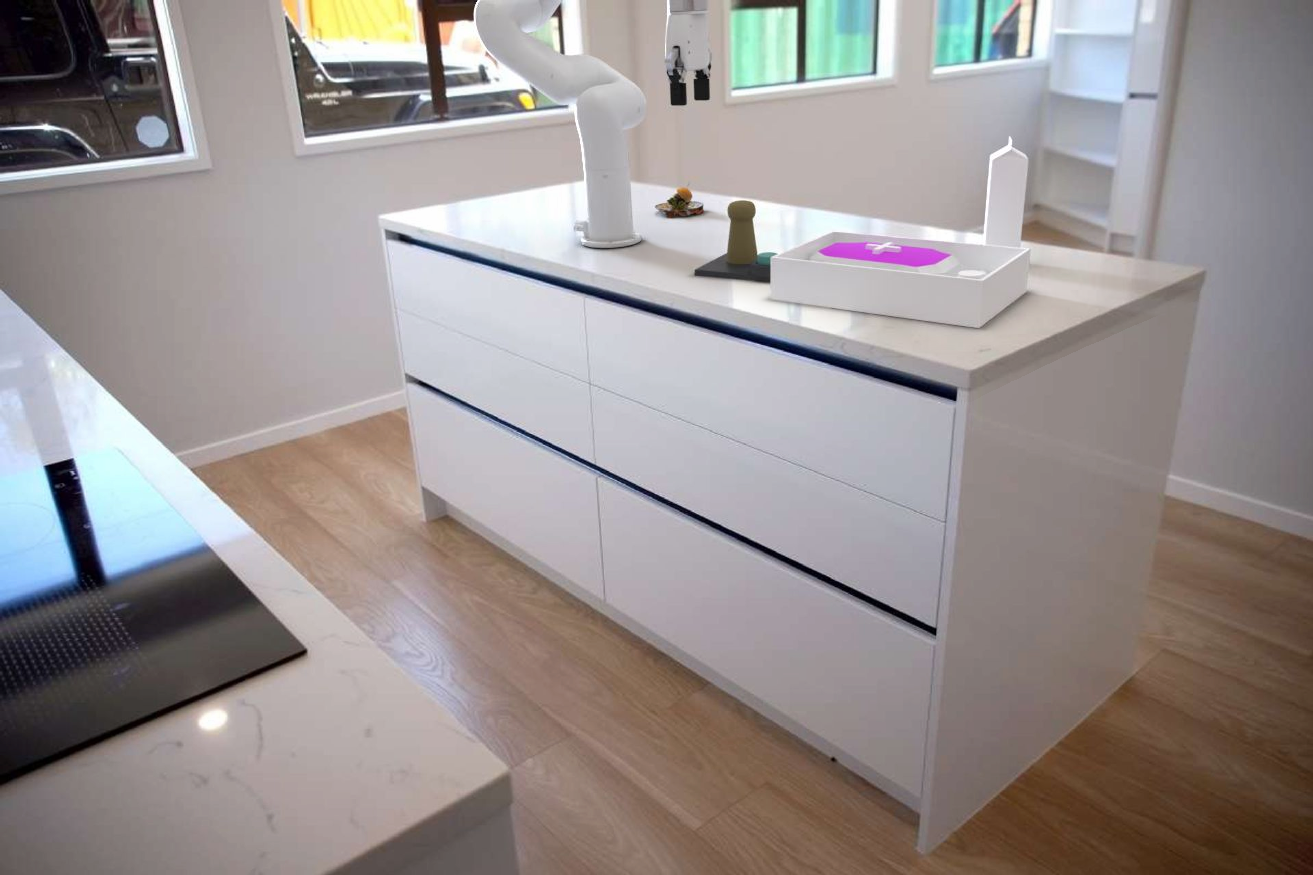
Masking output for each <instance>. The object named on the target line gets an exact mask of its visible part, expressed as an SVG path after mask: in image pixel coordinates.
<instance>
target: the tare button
mask: <svg viewBox="0 0 1313 875" xmlns="http://www.w3.org/2000/svg"><path fill="white" fill-rule="evenodd" d="M757 254H758V264H760V265H771V257H772V256H775V255H777V254H778V253H777V252H771V251H770V252H769V251H765V252H760V253H757Z"/></svg>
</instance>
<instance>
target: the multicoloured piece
mask: <svg viewBox="0 0 1313 875" xmlns="http://www.w3.org/2000/svg"><path fill="white" fill-rule="evenodd" d="M689 184H690V181H688V184H687V186H689ZM692 198H693V194H692V191H691V190H690V189H688V187H682V186H681V187H678V188H676V193H673V195H672V196H671V197H670V198H669V199H667V200H666V202H662V203H658V204H656V205H655V206H654V208H655V209H656V210H658V211H659V212H661V213H662V214H663V213H665V216H666V218H675V217H676V214H679V215H680V216H681V217H686V216H690V215H691V214H692V215H694V214H696V215H699V214H701V213H704V212H705V209H704V203H703V202H701V201H700V202H699V201H692Z"/></svg>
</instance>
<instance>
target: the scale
mask: <svg viewBox="0 0 1313 875" xmlns="http://www.w3.org/2000/svg"><path fill="white" fill-rule="evenodd" d="M726 258H727V252H726V253H724V254H722V255H720V256H718V257H716V258H714V259H712V260H710V261H709V262H706V263H705V264H703V265H701V266H699V267H697V268H695V269H694V270H693V271H694V276H695V277H696V276H697V277H707V278H717V279H728V280H739V281H751V282H762V283H771V265H760V264H758V259H755V260H752V261H750V262H749V264H731V263H728V262H726Z"/></svg>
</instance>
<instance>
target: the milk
mask: <svg viewBox="0 0 1313 875" xmlns="http://www.w3.org/2000/svg"><path fill="white" fill-rule="evenodd" d="M1029 160H1030V159H1029V158H1028V156H1027V155H1026V154H1025V153H1024V152H1023V151H1021V150H1019V149H1017V148H1015V147H1013V139H1012V137H1011V136H1010V135H1009V136H1008V144H1007V145H1006V146H1004V147H1002V148H1000V149H998V150H997V151H995V152H993V153H991V154H990V155H989V164H988V177H987V188H986V189H987V190H986V198H985V199H986V202H985V214H984V223H983V224H984V226H983V237H982V244H984V245H995V246H1006V247H1017V248H1021V243H1022V232H1023V222H1024V212H1025V201H1026V192H1027V183H1028V182H1027V180H1028V172H1029V171H1028V170H1029Z"/></svg>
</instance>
